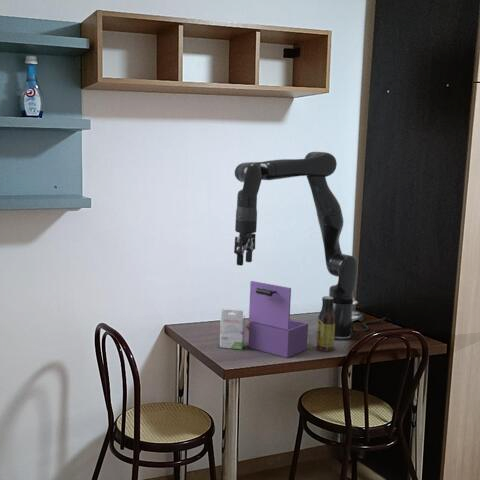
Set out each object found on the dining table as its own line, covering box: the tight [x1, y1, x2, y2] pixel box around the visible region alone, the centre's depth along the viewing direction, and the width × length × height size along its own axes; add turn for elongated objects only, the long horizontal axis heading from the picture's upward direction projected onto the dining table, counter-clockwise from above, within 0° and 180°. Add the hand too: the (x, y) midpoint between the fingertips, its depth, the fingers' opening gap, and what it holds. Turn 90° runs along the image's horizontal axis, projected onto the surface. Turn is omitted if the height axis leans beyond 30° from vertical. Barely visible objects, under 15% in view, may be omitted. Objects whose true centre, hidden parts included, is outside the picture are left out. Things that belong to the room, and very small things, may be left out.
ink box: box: [219, 308, 246, 350], centre depth 239 cm, size 9×5×15 cm, turn 74°
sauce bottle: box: [316, 295, 335, 352], centre depth 238 cm, size 6×6×20 cm
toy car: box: [352, 297, 364, 322], centre depth 281 cm, size 18×10×12 cm
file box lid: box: [248, 280, 292, 330], centre depth 230 cm, size 15×17×5 cm
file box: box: [247, 319, 309, 358], centre depth 239 cm, size 14×17×10 cm
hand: (244, 263), depth 232 cm, fingers open, 8 cm apart
